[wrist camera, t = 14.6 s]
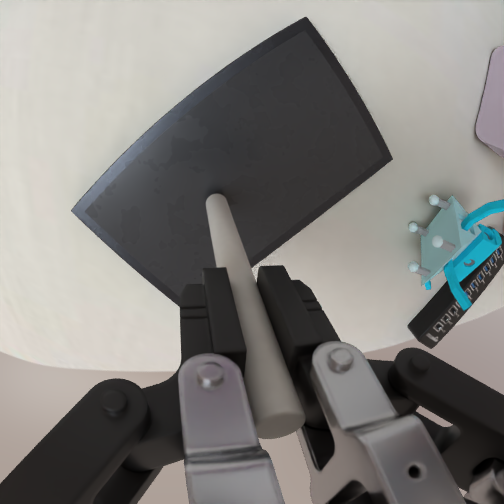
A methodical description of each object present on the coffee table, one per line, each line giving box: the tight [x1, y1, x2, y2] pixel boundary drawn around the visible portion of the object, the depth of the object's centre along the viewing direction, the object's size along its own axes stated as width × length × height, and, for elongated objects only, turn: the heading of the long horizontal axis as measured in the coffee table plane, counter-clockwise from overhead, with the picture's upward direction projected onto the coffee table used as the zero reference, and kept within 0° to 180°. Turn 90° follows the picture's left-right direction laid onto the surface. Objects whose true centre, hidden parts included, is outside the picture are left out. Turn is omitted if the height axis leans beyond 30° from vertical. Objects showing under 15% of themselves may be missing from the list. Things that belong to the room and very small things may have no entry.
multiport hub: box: [408, 227, 504, 349], centre depth 27 cm, size 4×14×2 cm, turn 143°
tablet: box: [71, 17, 393, 307], centre depth 18 cm, size 18×11×1 cm, turn 127°
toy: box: [408, 195, 504, 311], centre depth 20 cm, size 10×7×12 cm
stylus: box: [206, 194, 306, 439], centre depth 12 cm, size 1×1×14 cm
